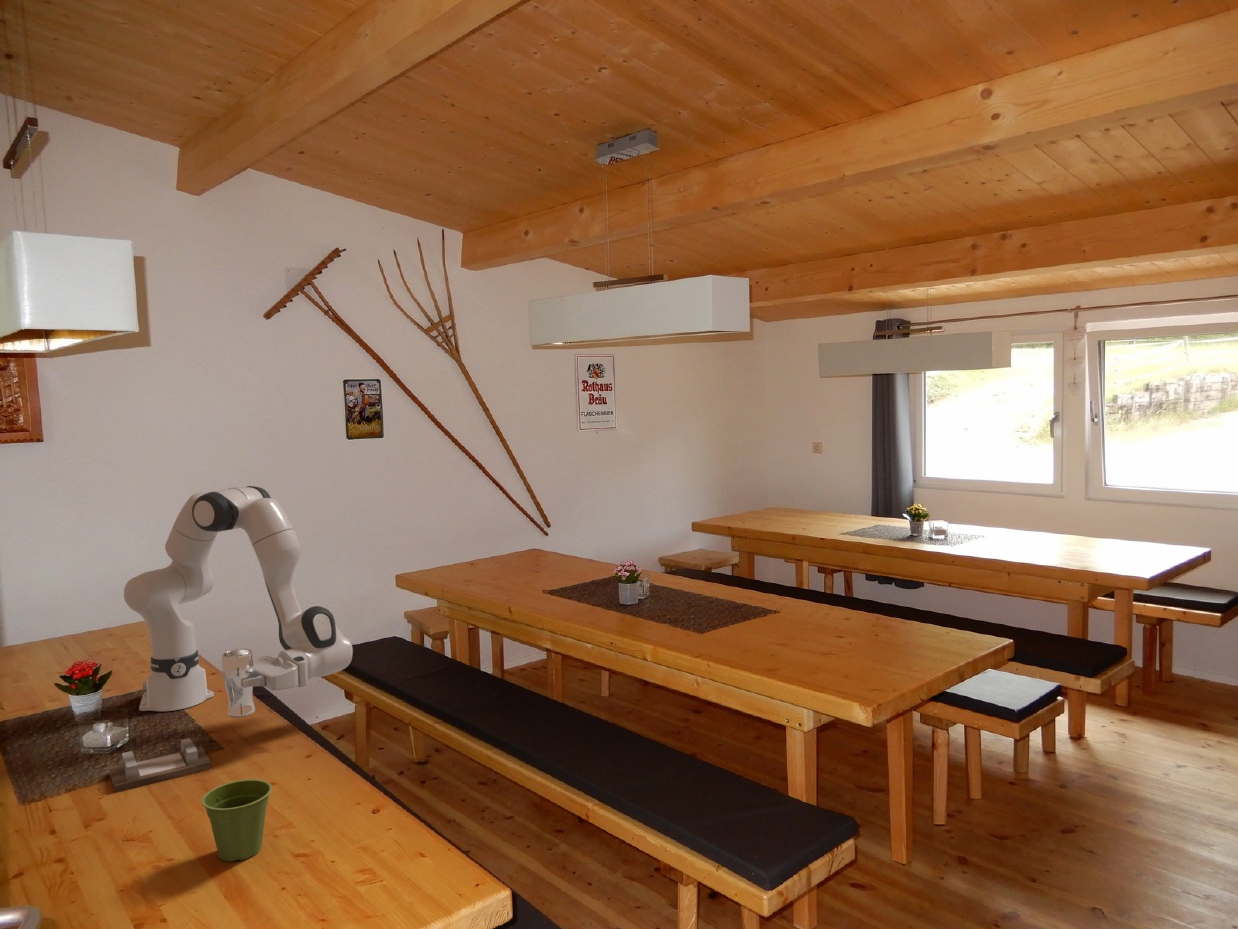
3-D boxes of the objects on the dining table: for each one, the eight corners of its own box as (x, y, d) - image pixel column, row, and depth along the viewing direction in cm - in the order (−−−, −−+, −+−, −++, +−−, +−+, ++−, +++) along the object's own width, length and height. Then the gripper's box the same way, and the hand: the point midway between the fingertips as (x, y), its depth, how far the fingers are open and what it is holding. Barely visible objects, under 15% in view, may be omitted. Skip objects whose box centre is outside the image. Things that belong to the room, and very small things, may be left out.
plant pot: (191, 870, 147) (187, 808, 146) (226, 836, 158) (223, 779, 158) (256, 870, 146) (252, 808, 145) (286, 836, 158) (283, 779, 157)
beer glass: (245, 718, 197) (240, 657, 196) (219, 717, 199) (214, 657, 197) (263, 708, 204) (258, 648, 203) (238, 707, 205) (233, 648, 204)
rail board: (109, 774, 188) (108, 754, 187) (201, 752, 199) (200, 733, 199) (115, 792, 178) (113, 772, 178) (211, 768, 189) (210, 749, 189)
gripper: (272, 647, 217) (217, 659, 207) (308, 662, 203) (252, 676, 193) (273, 670, 217) (219, 684, 207) (309, 687, 203) (253, 702, 193)
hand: (235, 680), depth 200 cm, fingers closed on beer glass, 6 cm apart
